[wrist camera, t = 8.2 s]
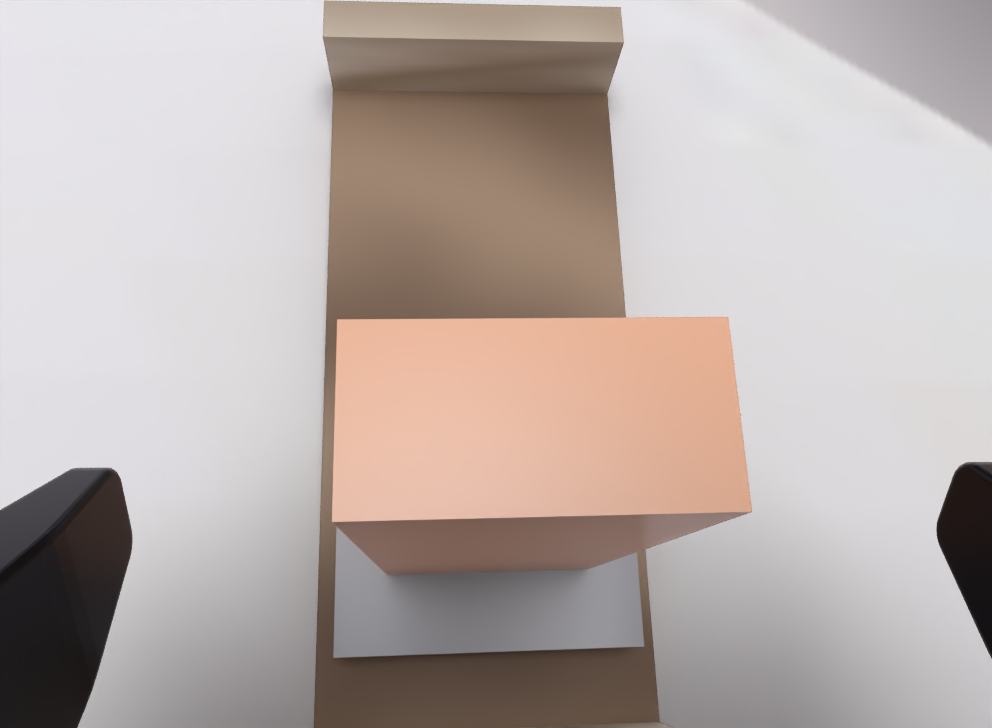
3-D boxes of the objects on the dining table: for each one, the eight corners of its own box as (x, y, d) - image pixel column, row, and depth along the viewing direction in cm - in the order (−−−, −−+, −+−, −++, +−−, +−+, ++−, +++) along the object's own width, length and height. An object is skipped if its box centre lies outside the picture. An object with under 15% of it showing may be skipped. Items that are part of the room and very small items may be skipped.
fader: (632, 645, 17) (877, 673, 8) (339, 655, 17) (210, 700, 7) (614, 409, 19) (801, 188, 9) (344, 414, 18) (243, 184, 9)
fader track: (651, 767, 18) (692, 794, 15) (318, 782, 17) (295, 814, 14) (597, 84, 23) (620, 7, 20) (338, 80, 22) (324, 0, 19)
